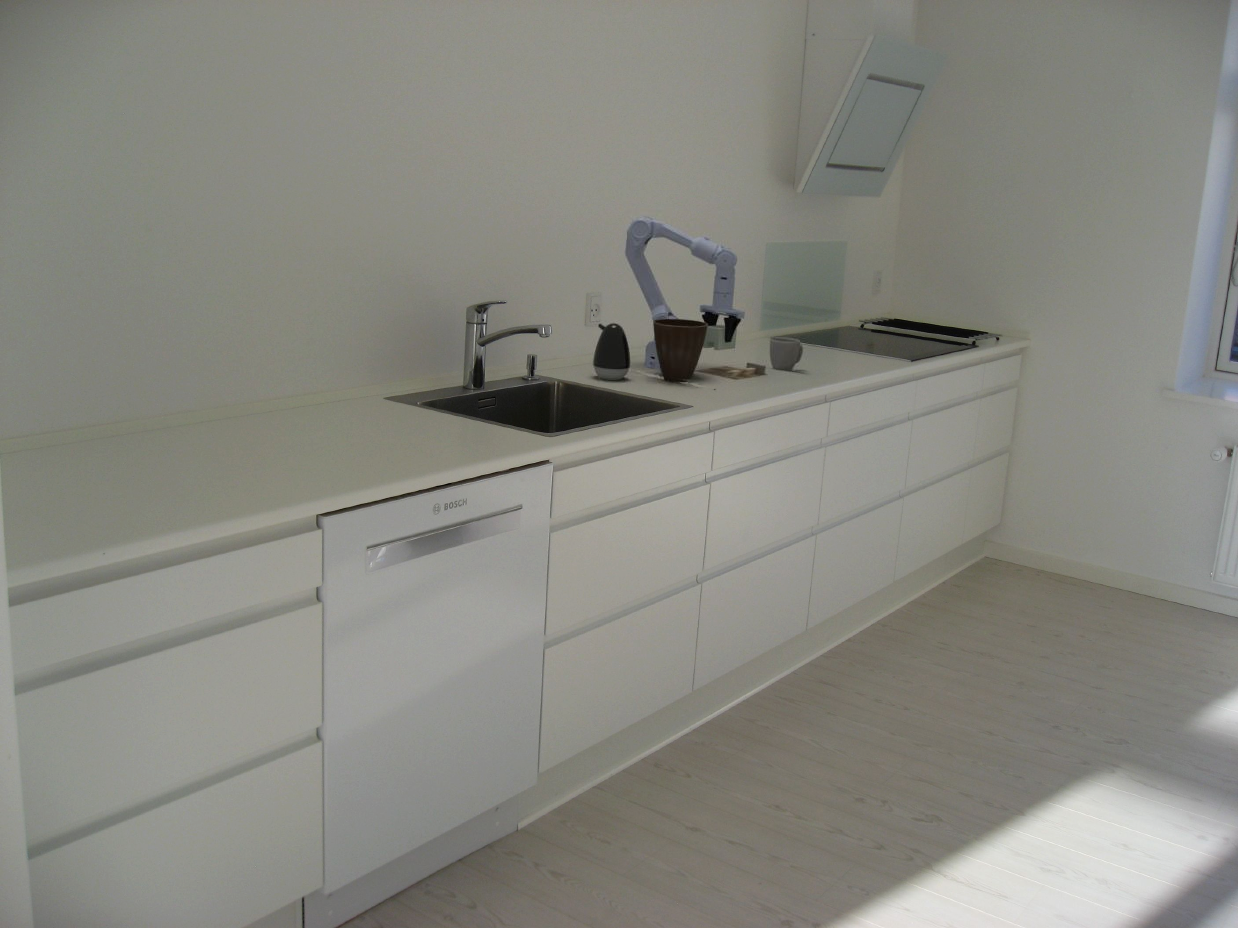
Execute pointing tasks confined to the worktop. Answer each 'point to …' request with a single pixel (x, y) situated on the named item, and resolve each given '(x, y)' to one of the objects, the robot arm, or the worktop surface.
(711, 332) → the cabinet block
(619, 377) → the pump dispenser
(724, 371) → the cleat board
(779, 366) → the mug
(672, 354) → the plant pot
